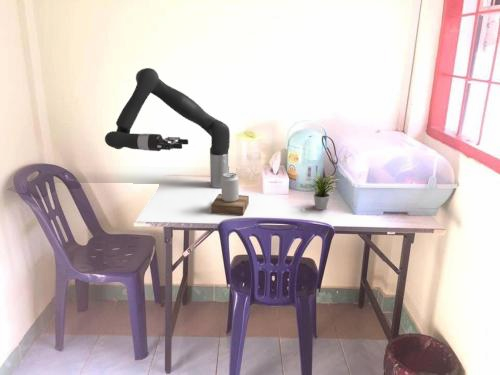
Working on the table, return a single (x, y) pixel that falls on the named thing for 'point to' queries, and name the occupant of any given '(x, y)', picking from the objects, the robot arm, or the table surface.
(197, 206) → the table surface
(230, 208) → the plinth
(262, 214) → the table surface
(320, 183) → the house plant
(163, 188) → the table surface
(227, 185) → the can
